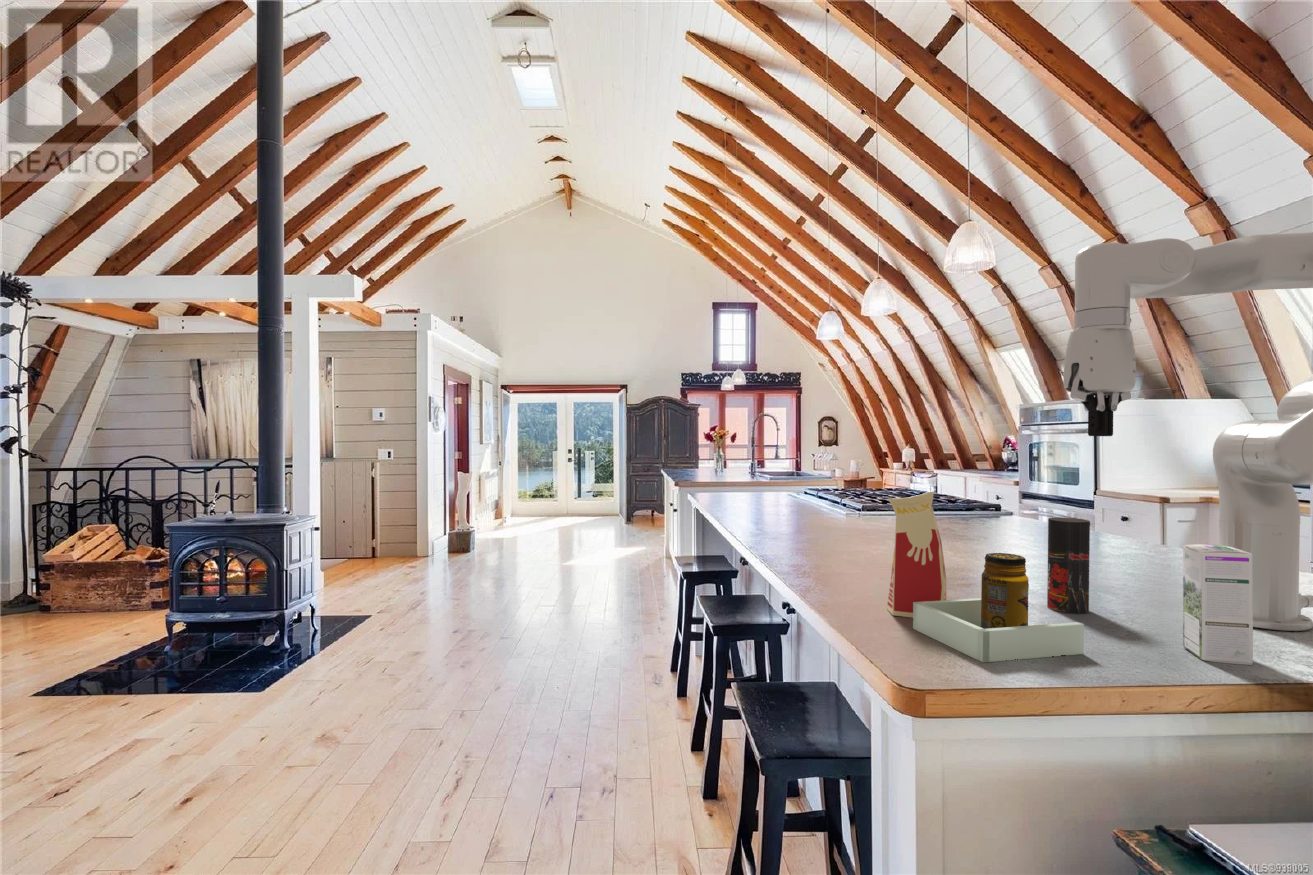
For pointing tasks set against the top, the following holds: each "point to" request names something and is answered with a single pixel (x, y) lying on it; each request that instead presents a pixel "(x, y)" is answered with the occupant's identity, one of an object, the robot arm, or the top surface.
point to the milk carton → (916, 556)
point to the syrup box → (1218, 603)
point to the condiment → (1004, 591)
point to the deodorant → (1068, 565)
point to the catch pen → (993, 633)
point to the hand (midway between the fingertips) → (1100, 435)
